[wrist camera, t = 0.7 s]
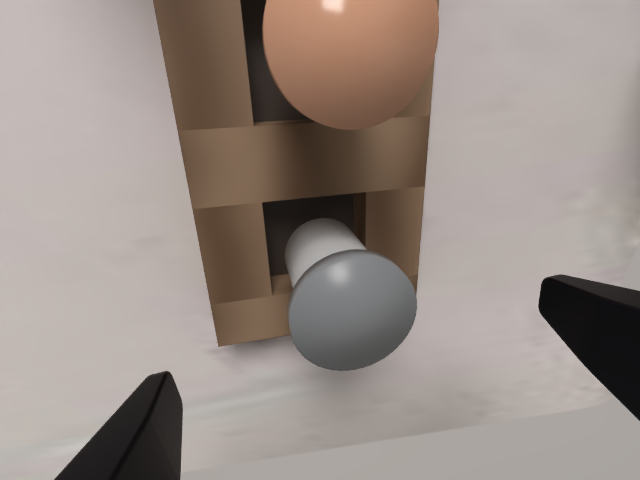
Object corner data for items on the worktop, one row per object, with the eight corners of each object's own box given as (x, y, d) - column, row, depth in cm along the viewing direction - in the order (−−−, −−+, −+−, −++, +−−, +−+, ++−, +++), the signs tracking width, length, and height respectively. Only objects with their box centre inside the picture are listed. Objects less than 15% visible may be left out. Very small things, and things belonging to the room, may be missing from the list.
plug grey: (366, 203, 18) (421, 250, 12) (365, 287, 20) (412, 358, 14) (270, 213, 17) (285, 268, 12) (278, 299, 19) (294, 380, 13)
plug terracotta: (369, -14, 14) (447, -76, 9) (368, 114, 16) (431, 124, 11) (247, -15, 13) (254, -84, 8) (261, 120, 15) (273, 135, 10)
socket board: (418, -72, 17) (446, -97, 14) (398, 293, 25) (414, 313, 22) (147, -83, 15) (131, -115, 12) (220, 320, 22) (218, 346, 20)
